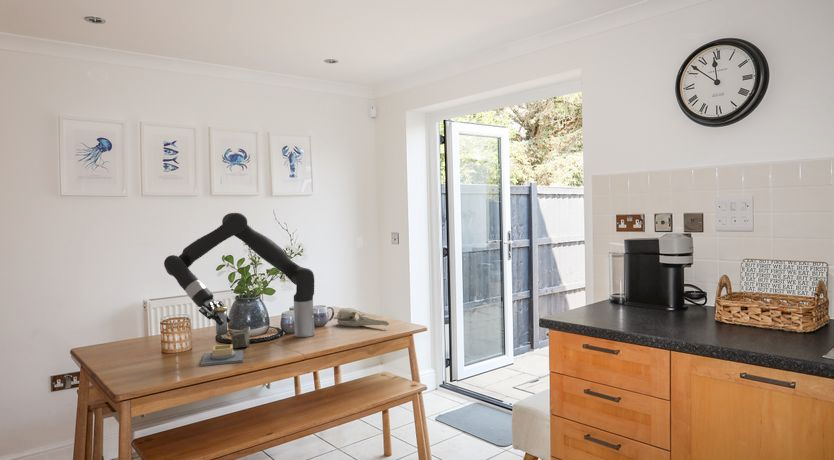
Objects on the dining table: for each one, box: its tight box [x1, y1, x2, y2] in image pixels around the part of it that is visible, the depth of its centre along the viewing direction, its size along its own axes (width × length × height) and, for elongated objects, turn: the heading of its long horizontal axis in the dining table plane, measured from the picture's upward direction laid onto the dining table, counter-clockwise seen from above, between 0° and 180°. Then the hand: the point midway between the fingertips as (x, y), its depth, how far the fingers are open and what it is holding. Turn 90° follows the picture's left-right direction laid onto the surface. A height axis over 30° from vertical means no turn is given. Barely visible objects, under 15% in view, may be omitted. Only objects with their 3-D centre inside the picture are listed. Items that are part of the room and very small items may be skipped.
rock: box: [230, 326, 251, 349], centre depth 247 cm, size 17×7×10 cm
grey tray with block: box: [200, 343, 245, 367], centre depth 225 cm, size 16×16×5 cm
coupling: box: [214, 305, 229, 336], centre depth 224 cm, size 5×5×11 cm
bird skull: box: [333, 307, 390, 328], centre depth 280 cm, size 8×32×10 cm, turn 61°
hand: (225, 322), depth 224 cm, fingers closed on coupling, 4 cm apart
